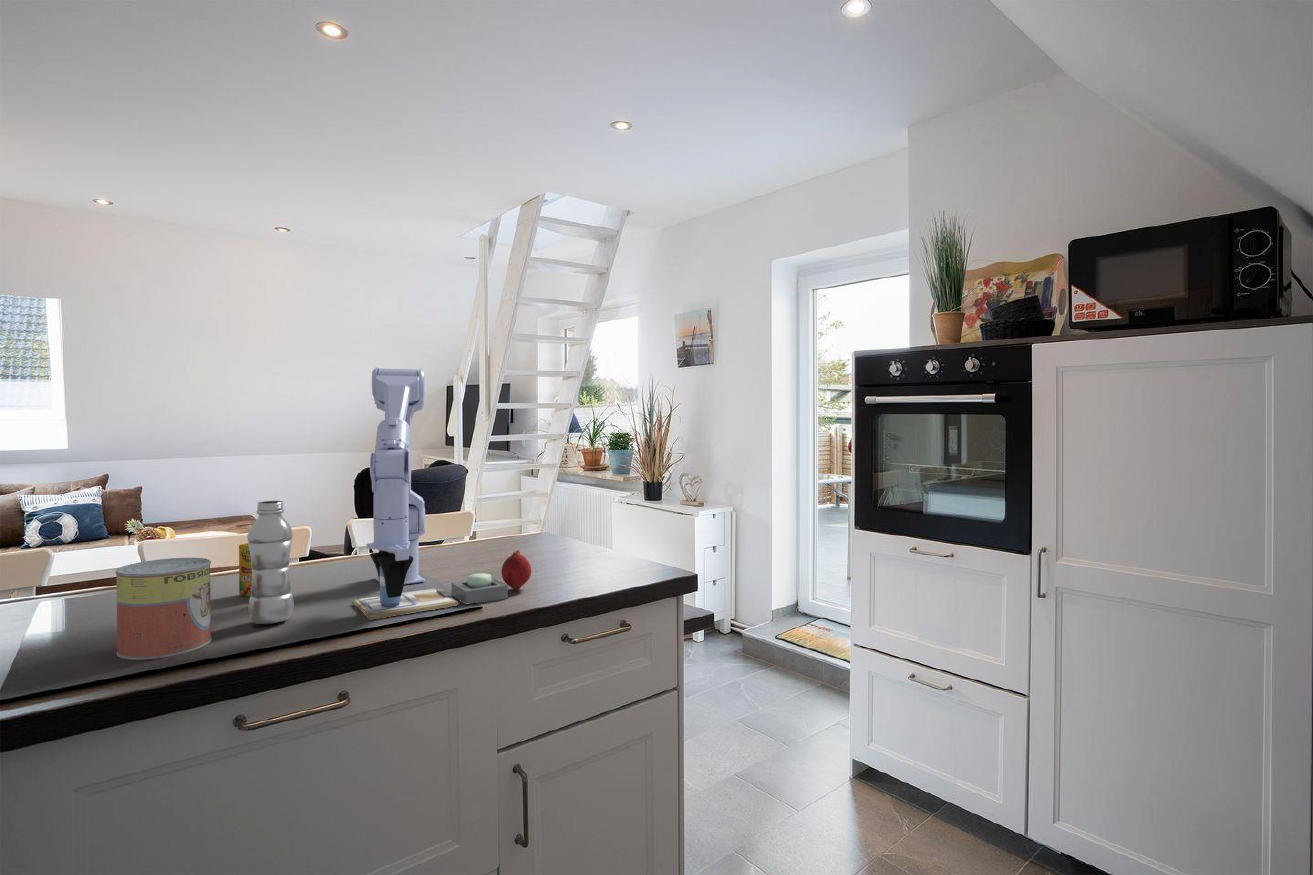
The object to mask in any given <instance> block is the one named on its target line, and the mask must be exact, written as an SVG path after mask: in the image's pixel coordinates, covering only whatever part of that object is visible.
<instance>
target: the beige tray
mask: <svg viewBox="0 0 1313 875" xmlns="http://www.w3.org/2000/svg"><path fill="white" fill-rule="evenodd" d="M353 601H354V602H353V604H354V606H355V607H356V608H357V609H358V610H359V611H360V610H361V611H362V612H363V613H364V614H363V613H362V612H361V611H360V612H361V613H362V614H363V615H364V616H365V617H366V618H367V619H368V621H370V620H371V621H374V620H373V619H377V620H379V619H378V618H383V619H385V618H384V617H389V616H393V615H400V614H406V613H411V612H418V611H423V610H433V611H436V610H435V609H439V608H443V607H449V606H455V605H458V606H459V601H458V600H457V599H455V598H454V597H453V596H452V594H451V593H450V592H449V591H447V590H446V589H443V588H440V589H439V588H437V587H436V588H435V587H434V588H426V589H420V590H413V591H408V592H402V594H401V602H400V605H399V606H396V607H389V608H385V607H381V603H380V595H378V596H372V597H365V598H363V597H362V598H357V599H354V600H353ZM439 610H440V609H439ZM389 618H390V617H389Z"/></svg>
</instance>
